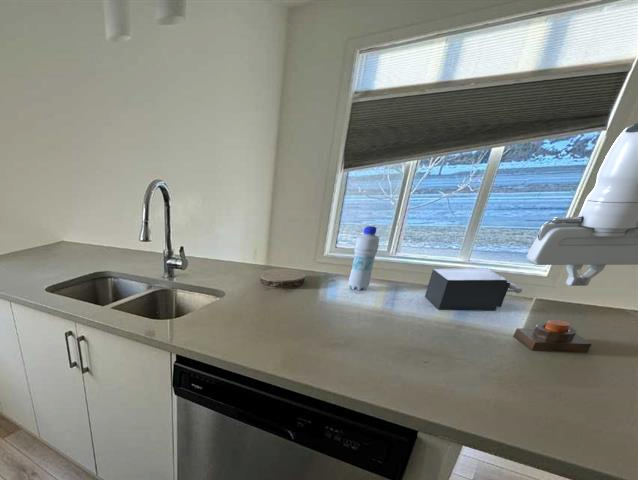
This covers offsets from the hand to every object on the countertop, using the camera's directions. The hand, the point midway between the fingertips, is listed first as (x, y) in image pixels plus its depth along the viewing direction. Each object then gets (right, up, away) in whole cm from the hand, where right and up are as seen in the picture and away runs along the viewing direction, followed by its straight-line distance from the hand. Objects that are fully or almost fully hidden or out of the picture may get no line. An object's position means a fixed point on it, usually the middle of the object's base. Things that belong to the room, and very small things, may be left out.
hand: (576, 285), depth 86 cm
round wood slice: (-39, +16, +63) cm, 76 cm away
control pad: (+1, -12, +7) cm, 14 cm away
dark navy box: (+1, +3, +32) cm, 32 cm away
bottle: (-18, +11, +50) cm, 55 cm away
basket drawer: (+5, +3, +31) cm, 31 cm away
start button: (+1, -9, +5) cm, 10 cm away
